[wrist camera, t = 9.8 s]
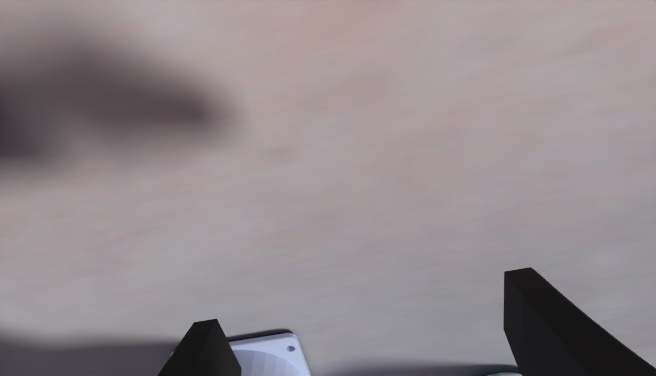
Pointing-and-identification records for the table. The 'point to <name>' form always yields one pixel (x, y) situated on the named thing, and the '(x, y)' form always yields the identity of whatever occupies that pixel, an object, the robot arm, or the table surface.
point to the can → (506, 374)
